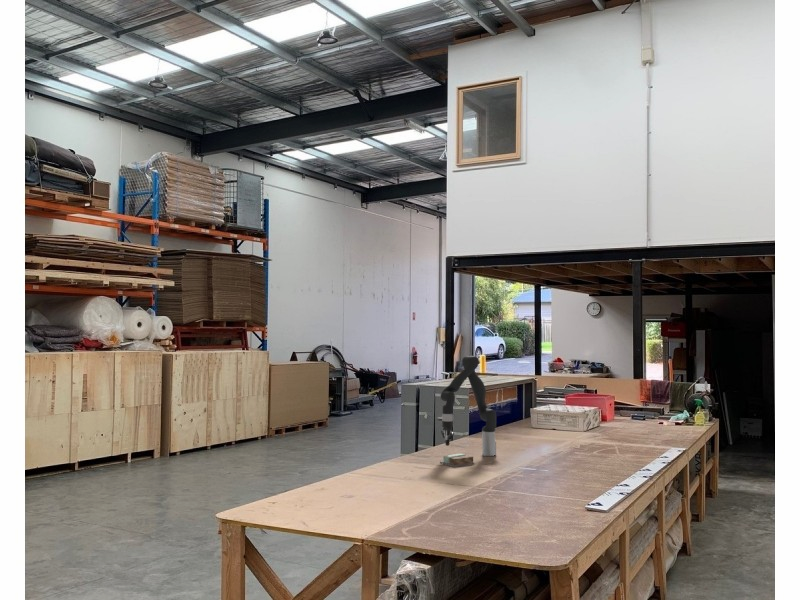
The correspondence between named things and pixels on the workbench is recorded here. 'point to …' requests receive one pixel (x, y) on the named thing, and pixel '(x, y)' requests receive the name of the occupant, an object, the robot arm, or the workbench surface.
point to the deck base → (455, 465)
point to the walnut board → (461, 460)
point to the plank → (447, 458)
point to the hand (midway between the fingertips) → (447, 445)
